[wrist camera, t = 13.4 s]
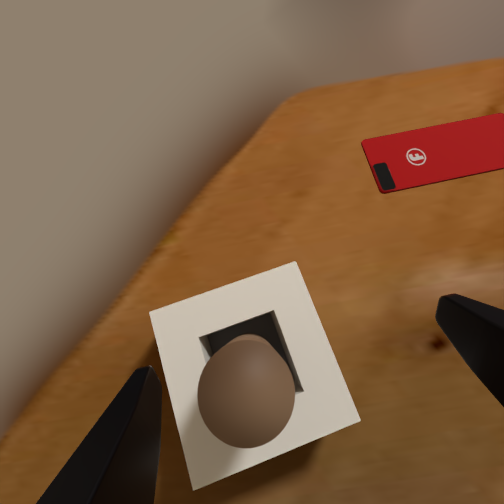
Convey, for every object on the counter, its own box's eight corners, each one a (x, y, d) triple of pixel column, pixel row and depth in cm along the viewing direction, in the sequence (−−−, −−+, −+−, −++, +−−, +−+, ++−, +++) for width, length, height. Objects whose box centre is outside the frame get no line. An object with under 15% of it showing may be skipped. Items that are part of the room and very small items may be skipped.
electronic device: (499, 115, 27) (358, 143, 26) (504, 111, 27) (360, 139, 26) (527, 164, 26) (379, 196, 25) (533, 161, 25) (381, 193, 24)
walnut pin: (281, 374, 19) (310, 425, 10) (234, 393, 19) (214, 465, 9) (263, 325, 20) (274, 327, 10) (218, 342, 20) (185, 360, 10)
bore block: (336, 400, 20) (360, 420, 15) (206, 453, 19) (193, 490, 15) (286, 273, 22) (295, 261, 18) (169, 315, 21) (149, 312, 17)
